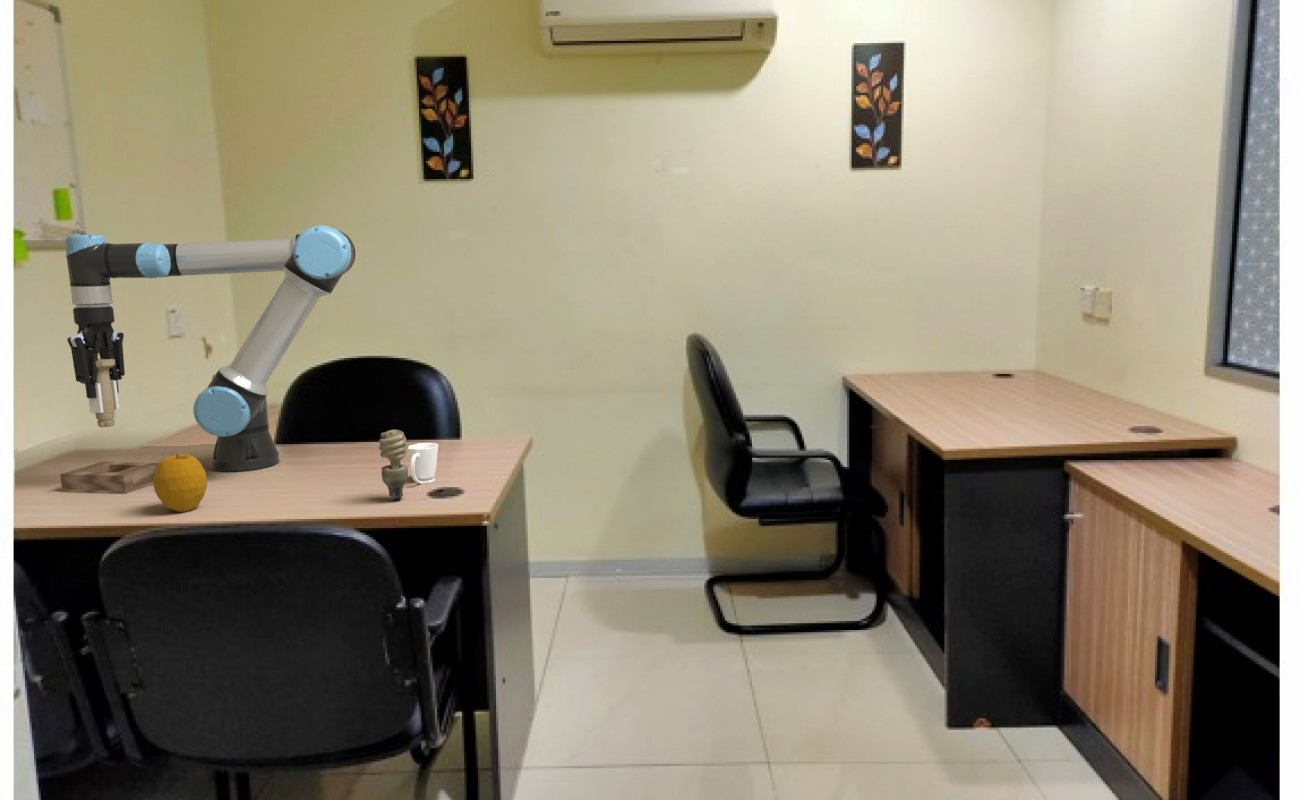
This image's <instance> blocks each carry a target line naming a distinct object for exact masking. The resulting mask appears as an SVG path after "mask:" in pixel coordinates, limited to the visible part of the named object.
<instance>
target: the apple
mask: <svg viewBox="0 0 1300 800" xmlns="http://www.w3.org/2000/svg"><path fill="white" fill-rule="evenodd" d="M158 463H159V465H158V466H157V468H156V471H155V474H154V480H153V484H152V485H153V488H154V492H155V494H156V496H157V498H158V499H159V500H160V501H161V503H162V504H163V505H164V506H165V507H167V508H168V509H169V510H171V511H175V512H178V513H185V512H190V511H192V510H195V509H196V508H197V507H198V506H199V504H200V503H201V501H202V500H203V498H204V496H205V494H206V491H207V488H208V487H207V486H208V477H207V473H206V470H205V468H204V467H203V465H202V463H201V462H200V460H199V459H197V457H195V456H193V455H191V454H188V453H179V454H178V453H176V454H175V455H171V456H167V457H165V458H163V459H162V460H161V461H160V462H158Z"/></svg>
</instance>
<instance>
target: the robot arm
mask: <svg viewBox="0 0 1300 800" xmlns="http://www.w3.org/2000/svg"><path fill="white" fill-rule="evenodd" d="M65 258H66V262H67V263H66V264H67V270H68V276H69V279H68V280H69V286H70V293H71V302H72V305H74V306H75V307H73V309H72V313H73V322H74V324H75V325H77V326H78V329H77V333H76V335H75V336H72V337H71V336H70V337H67V343H68V345H69V347H70V351H71V356H72V362H73V369H74V370H73V371H74V375H75V376H74V377H75V381H76V382H78V383H80V384H82V385H83V384H84V386H85V391H86V392H85V393H86V398H87V399H88V404H89V405H88V406H89V413H92V414H93V413H94V414H95V413H103V403H102V394H101V386H100V383H96V382H97V367H96V361H98V359H115V365H114V366H113V367H111V368H110V369H109V376H110V382H111V387H112V393H113V398H114V407H115V408H114V409H115V410H120V404H119V396H118V395H119V393H120V390H119V383H118V382H119V381H121V380H122V378H123V376H125V374H126V373H125V371H126V370H125V362H124V360H125V359H124V357H125V356H124V346H123V342H124V337H125V334H124V333H123V332H118V331H114V328H113V326H112V324H113V323H114V322H115V312H114V307H112V306H111V304H113V302H114V301H113V300H114V299H113V295H112V294H113V293H112V287H111V286H112V284H111V279H124V278H125V279H143V278H144V279H145V278H147V279H156V278H167V277H182V276H203V275H204V276H205V275H206V276H207V275H225V274H226V275H227V274H247V273H249V274H250V273H267V272H268V273H269V272H272V273H273V272H284V274H285V277H284V279H283V280H282V281H281V283H280V285H279V287H278V288H277V290H276V291H275V293H274V295H273V296H272V298H271V299H270V301H269V302H268V304H267V306H266V307H265V309H264V311H263V312H262V314H261V315H260V317H259V318H258V320H257V322H256V323H255V324H254V326H253V327H252V330H251V331H250V333H249V334H248V336H247V338H246V339H245V341H244V342H243V344H242V345H241V347H240V349H239V350H238V352H237V353H236V355H235V357H233V360H232V361H231V362H230V364H228V365H225V366H221V367H219V368H218V370H217V372H216V373H215V374H213V375H212V377H211V381H210V382H209V384H208V386H207V387H206V388H205V389H203V390H202V391H201V392H200V393H199V394H198V395H197V397H196V399H195V401H194V403H193V412H192V413H193V416H194V418H195V422H196V423H197V425H198V426H199V427H200V429H202V430H204V431H205V433H208V434H210V435H212V436H215V437H216V442H215V446H214V450H213V454H212V457H211V466H212V470H214V471H219V472H245V471H252V470H258V469H265V468H268V467H271V466H274V465H277V464H279V462H280V453H279V451H278V449H277V447H276V446H277V445H276V444H275V441H274V440H273V437H272V435H271V433H270V426H269V425H270V424H269V414H268V405H267V404H268V403H267V395H268V394H269V391H268V388H267V382H268V380H269V379H270V378H271V376H272V375H273V373H274V371H275V369H277V366H278V365H279V364H280V361H281V360H282V358H283V357H284V356H285V354H286V352H287V350H288V349H289V348H290V346H291V344H292V343H293V341H294V340H295V338H296V337H297V335H298V333H299V331H300V330H301V328H302V327H303V326H304V323H306V320H307V319H308V317H309V316H310V314H311V312H312V311H313V309H314V308H315V306H316V305H317V303H318V301H319V300H320V299H321V298H322V297H324V296H330V295H331V294H332V292H333V291H334V289H335V288H336V286H337V284H338V283H339V281H340V280H341V278H342V276H343V275H345V274H346V273H347V272H349V271H350V270H351V269H352V267H353V266H354V264H355V260H356V248H355V245H354V242H353V240H351V238H350V237H349V236H348V234H346V233H344V232H343V231H341V230H339V229H337V228H335V227H334V228H333V227H332V226H328V225H315V226H312V227H309V228H307V229H306V230H304V231H303V232H302V233H300V234H299V233H298V234H295V235H293V236H292V238H282V239H279V238H278V239H259V240H258V239H257V240H237V241H232V240H231V241H213V242H212V241H210V242H193V243H192V242H186V243H165V244H164V243H163V244H162V243H154V242H141V243H140V242H136V243H107V240H106V237H105V235H103V234H69V235H68V236H66V238H65Z"/></svg>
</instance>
